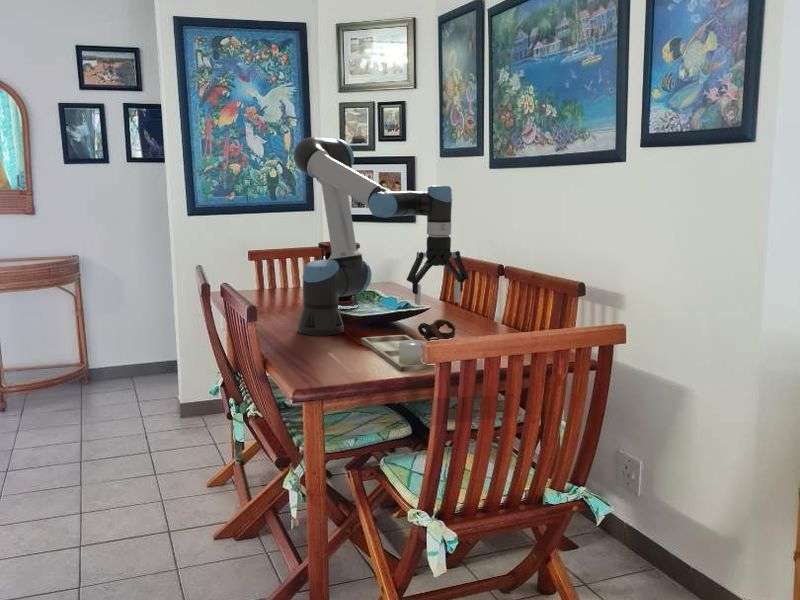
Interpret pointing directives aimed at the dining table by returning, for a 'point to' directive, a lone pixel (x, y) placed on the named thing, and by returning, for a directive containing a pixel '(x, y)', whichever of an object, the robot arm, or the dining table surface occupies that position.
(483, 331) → the dining table surface
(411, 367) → the tray
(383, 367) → the dining table surface
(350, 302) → the hourglass
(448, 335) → the dark brown looped part
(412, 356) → the grey short cylinder
